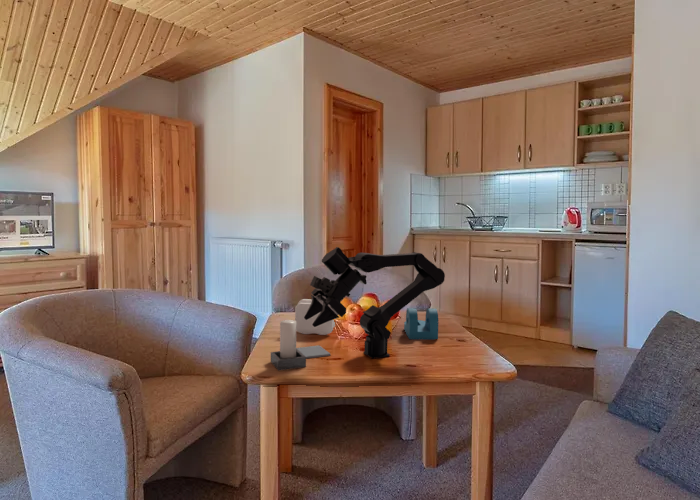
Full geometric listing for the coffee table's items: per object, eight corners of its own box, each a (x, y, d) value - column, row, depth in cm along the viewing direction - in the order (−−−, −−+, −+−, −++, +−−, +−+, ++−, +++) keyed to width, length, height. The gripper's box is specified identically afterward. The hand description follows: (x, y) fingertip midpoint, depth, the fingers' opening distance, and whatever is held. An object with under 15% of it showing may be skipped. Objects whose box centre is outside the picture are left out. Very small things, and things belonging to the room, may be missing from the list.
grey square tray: (297, 358, 145) (297, 349, 145) (305, 366, 138) (306, 357, 137) (270, 361, 142) (270, 352, 142) (278, 370, 134) (278, 360, 134)
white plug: (293, 361, 143) (293, 319, 142) (298, 365, 139) (298, 323, 137) (278, 362, 141) (278, 320, 140) (282, 367, 137) (282, 324, 135)
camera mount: (437, 339, 169) (438, 311, 168) (409, 339, 169) (409, 311, 168) (428, 327, 187) (428, 301, 186) (402, 327, 187) (402, 301, 186)
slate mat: (319, 347, 158) (319, 345, 158) (330, 355, 149) (330, 353, 149) (290, 350, 154) (290, 348, 154) (300, 359, 145) (300, 357, 144)
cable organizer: (292, 334, 174) (292, 303, 173) (299, 327, 184) (299, 298, 183) (332, 335, 172) (332, 305, 171) (336, 328, 183) (337, 299, 182)
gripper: (317, 263, 150) (283, 299, 147) (336, 270, 133) (298, 311, 130) (340, 286, 154) (307, 321, 151) (361, 296, 136) (325, 336, 133)
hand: (309, 322), depth 141 cm, fingers open, 9 cm apart
